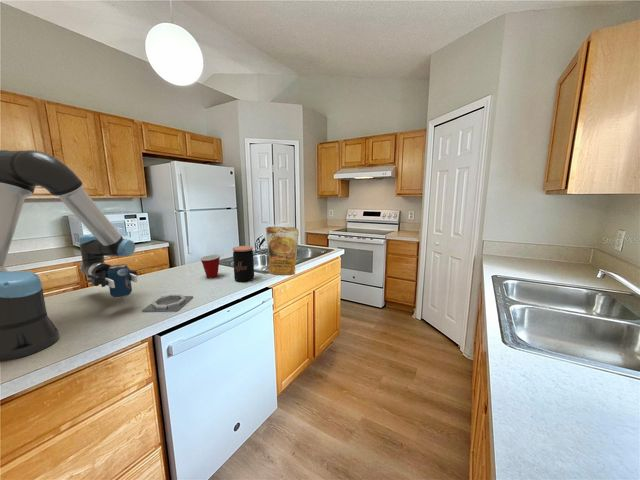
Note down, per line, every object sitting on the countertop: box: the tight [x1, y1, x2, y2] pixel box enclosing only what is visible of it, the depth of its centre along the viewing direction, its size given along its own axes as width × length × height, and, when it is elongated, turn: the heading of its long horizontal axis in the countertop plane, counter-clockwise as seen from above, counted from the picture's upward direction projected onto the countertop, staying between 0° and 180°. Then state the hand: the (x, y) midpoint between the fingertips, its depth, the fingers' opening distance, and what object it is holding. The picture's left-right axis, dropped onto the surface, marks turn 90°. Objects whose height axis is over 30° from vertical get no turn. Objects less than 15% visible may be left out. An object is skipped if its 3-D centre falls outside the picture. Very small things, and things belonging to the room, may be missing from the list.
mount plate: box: [141, 294, 194, 313], centre depth 110 cm, size 14×14×2 cm
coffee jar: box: [232, 245, 255, 283], centre depth 141 cm, size 11×11×18 cm
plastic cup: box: [199, 254, 221, 279], centre depth 146 cm, size 11×11×12 cm
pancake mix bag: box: [265, 226, 299, 276], centre depth 150 cm, size 7×19×28 cm, turn 80°
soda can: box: [107, 263, 133, 299], centre depth 102 cm, size 7×7×12 cm
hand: (125, 281), depth 99 cm, fingers closed on soda can, 7 cm apart
